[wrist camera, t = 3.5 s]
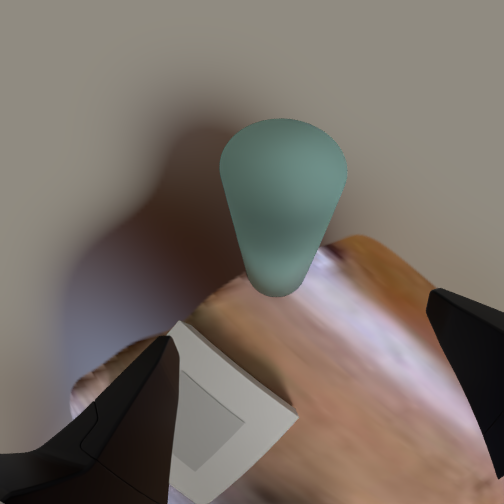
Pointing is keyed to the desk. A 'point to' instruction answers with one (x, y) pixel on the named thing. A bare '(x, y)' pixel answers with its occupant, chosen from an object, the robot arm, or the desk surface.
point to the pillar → (281, 198)
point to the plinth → (219, 419)
